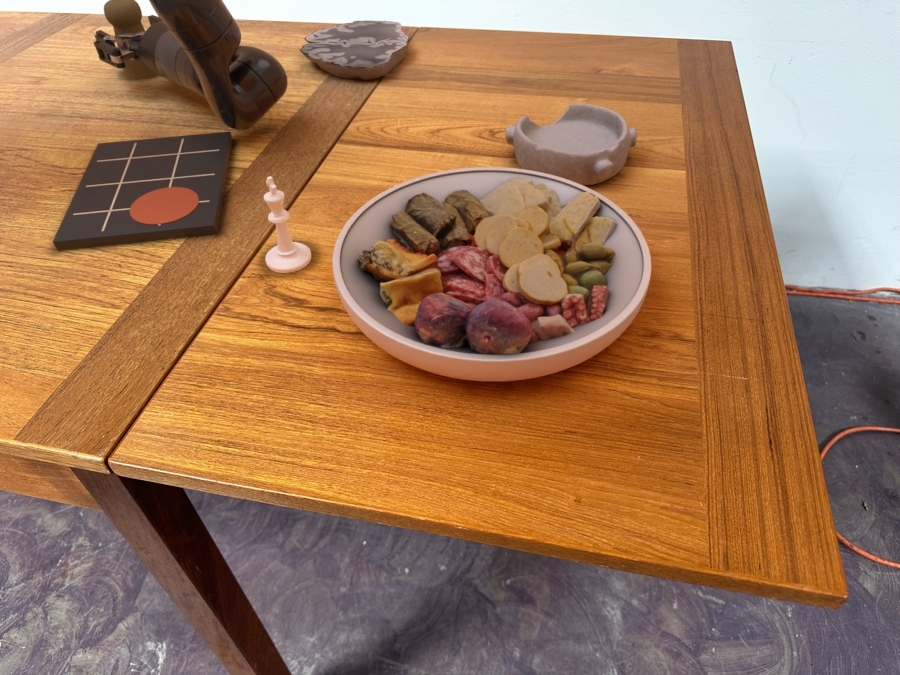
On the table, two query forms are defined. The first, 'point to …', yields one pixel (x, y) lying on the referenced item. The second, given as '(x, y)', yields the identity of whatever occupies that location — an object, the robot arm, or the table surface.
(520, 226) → the bowl
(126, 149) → the board
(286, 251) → the chess piece
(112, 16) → the brown knobbed peg
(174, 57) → the robot arm
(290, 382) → the table surface
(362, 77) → the brain slice
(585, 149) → the dish
